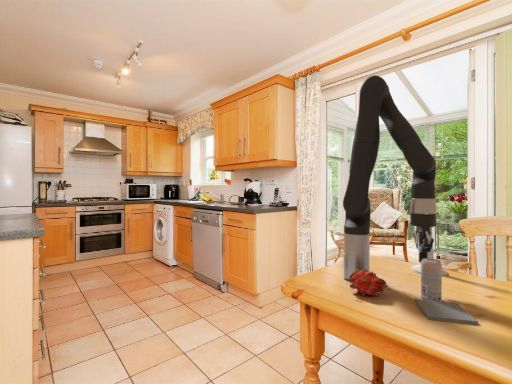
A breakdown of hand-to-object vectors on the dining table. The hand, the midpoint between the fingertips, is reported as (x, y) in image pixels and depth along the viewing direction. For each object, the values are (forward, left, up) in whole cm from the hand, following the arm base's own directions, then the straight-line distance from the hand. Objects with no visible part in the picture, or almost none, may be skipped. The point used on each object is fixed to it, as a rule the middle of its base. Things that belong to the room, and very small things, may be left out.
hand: (423, 263), depth 91 cm
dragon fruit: (-19, -9, -9) cm, 23 cm away
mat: (0, -17, -9) cm, 20 cm away
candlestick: (+9, +25, -9) cm, 28 cm away
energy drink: (0, -8, -9) cm, 12 cm away
